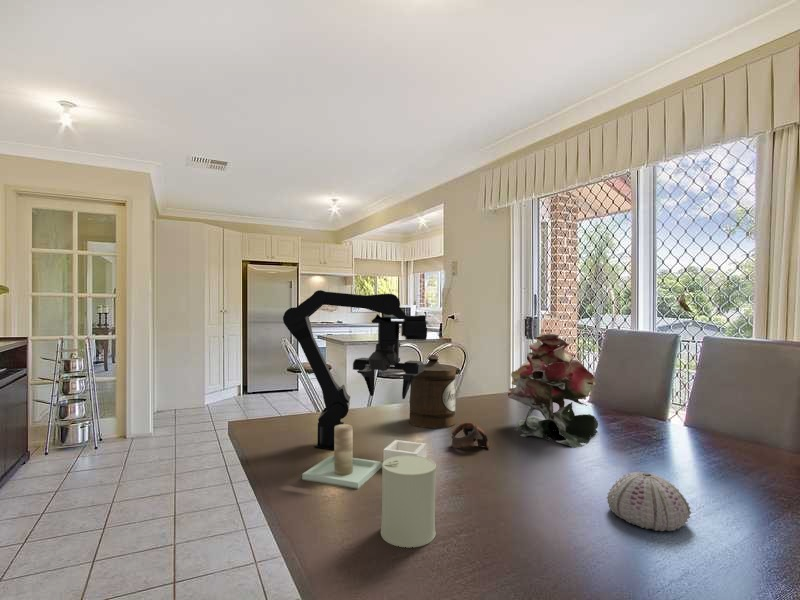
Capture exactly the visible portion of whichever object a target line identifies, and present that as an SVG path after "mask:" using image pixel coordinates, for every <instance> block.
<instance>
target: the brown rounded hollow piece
mask: <svg viewBox="0 0 800 600" xmlns="http://www.w3.org/2000/svg"><path fill="white" fill-rule="evenodd" d="M461 431H462V432H463V435H464V436H463V437H457V435H458V434H459V433H460V432H461ZM474 442H477V446H478V447H480V448H481V447H483V448H487V450H490V443H489V439H488V435H487V434H486V432H485V431H484V430H483V429H482V427H479V426H478V425H477V424H476V423H474V422H472V421H467V422H463V423H460V424H459V425H457V426H455V428H454V429H453V430H452V432H451V447H452V448H455V449H462V448H466V447H469V446H470V447H473V448H474V447H475V443H474Z"/></svg>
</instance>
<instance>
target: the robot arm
mask: <svg viewBox="0 0 800 600" xmlns="http://www.w3.org/2000/svg"><path fill="white" fill-rule="evenodd" d="M323 306H335V307H343V308H345V307H346V308H356V309H365V310H369V311H372V312H377V313H380V314H383V315H388V316H380V315H379V314H376V315H375V317H374V318H373V319H371V323H372V324H377V327H378V328H377V343H376V344H375V345H376V346H375V351H374V352H372V354H371V355H370V356H368V357H358V358H356V359H354V360H353V362H352V370H354V371H356V373H358V374H360V376H362V377H363V379H364V381H365V383H366V387H367V389H368V393H369V395H370V397H373V396H374V393H375V373H376V372H375V371H376V370H377V371H382V372H384V371H388V370H399V371H403V372H404V373H403V374H402V380H403V381H402V390H401V398H402V400H405V399H406V396H407V394H408V392H409V389H410V387H411V382H412V380H413V378H414V377H415V376H416V375H418V374H419V373H421V372H423V371H424V364H425V363H423V361H422V360H407V361H404V362H401V357H399V356H400V347H401V342H400V336H401V337H404V338H405V341H427V337H428V327H427V320H426V319H427V316H426V315H425V314H423V315H422V314H420V315H406V312H404V311H403V309H402V308H401V302H400V299H399V297H398V296H397V295H395V294H393V293H379V294H377V293H376V294H369V295H368V294H365V295H364V294H357V293H356V294H355V293H344V292H343V293H342V292H333V291H325V290H322V289H320V290H318V289H317V290H316V291H314V292H313V294H312V295H310V296H309V297H307V299H305V300H304V301H302V302H301V303H300V304H298V306H294V307H290V308H288V309H287V310H286V311H285V312H283V316H282V321H283V324H284V326H285V327H286V328H287V329H288V331H289V332H290V334H291V335H292V336H293V337H294V339H296V340H297V342H298V343H299V346H300V347H301V348H302V349H301V350H302V352H303V354H304V355H305V358H306V360H307V362H308V364H309V365H310V368H311V370H312V372H313V375H314V376H315V378H316V380H317V382H318V383H317V384H319V387H320V389H321V392H322V397H323V402H324V403H323V404H324V406H325V408H324V409H323V410H321V412H320V415H319V416H318V418H317V419H318V420H317V421H318V422H317V436H316V437H317V439H316V444H314V445H313V446H314V448H318V449H325V450H332V451H334V427H335V426H336V425H341V424H345V423H344V421H341V420H343V419H344V418H345V417H347V415H348V413H349V410H350V409H349V408H350V404H351V403H350V400H351V396H350V395H349V394H348V393H347V392H348V391H347V389H346V386H345V384H342V385H339V384H338V383H337V382H336V380H335V379H334V377H333V375H332V373H331V370H330V369H329V367H328V364H327V362H326V360H325V358H324V356H323V354H322V351H321V349H320V347H319V346H318V343H317V342H316V340H315V337H314V333H313V329H312V328H313V327H312V324H311V321H310V317H311V316H312V315H313V314H315V313H316V312H317V311H318V310H319V309H321V307H323ZM391 316H393V317H395V318H397V319H398V320H392V317H391ZM400 324H401V327H400ZM400 334H401V335H400Z"/></svg>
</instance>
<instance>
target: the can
mask: <svg viewBox="0 0 800 600" xmlns="http://www.w3.org/2000/svg"><path fill="white" fill-rule="evenodd" d="M381 471H382V473H381V474H382V478H381V480H382V481H381V486H382V487H381V489H382V490H381V491H382V492H381V493H382V495H381V497H382V499H381V528H380V536H381V538H382V539H383V540H384V541H385V542H386V543H388V544H389V545H391V546H395V547H398V546H399V547H400V548H405V547H406V549H407V548H408V549H411V548H412V547H413V548H420V547H423V546H426V545H428V544H430V543H431V542H433V541H434V539H435V537H436V534H437V533H436V527H435V525H436V523H435V521H436V519H435V517H436V507H435V506H436V474H437V473H436V472H437V465H436V462H435V461H433V460H432V459H430V458H424V457H420V456H411V455H403V456H395V457H391V458H388V459H386V460H385V461H384V462H383V461H382V468H381Z"/></svg>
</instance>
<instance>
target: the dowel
mask: <svg viewBox="0 0 800 600" xmlns="http://www.w3.org/2000/svg"><path fill="white" fill-rule="evenodd" d="M353 433H354V432H353V425H351V424H345V423H344V424H341V425H336V426H335V427H334V450H333V451H334V454H333V455H334V473H335V474H336V475H349V474H351V473H352V472H353V458H354V457H353V453H354V452H353V451H354V450H353V449H354V448H353V447H354V445H353V443H354V442H353V439H354V436H353V435H354V434H353Z"/></svg>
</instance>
